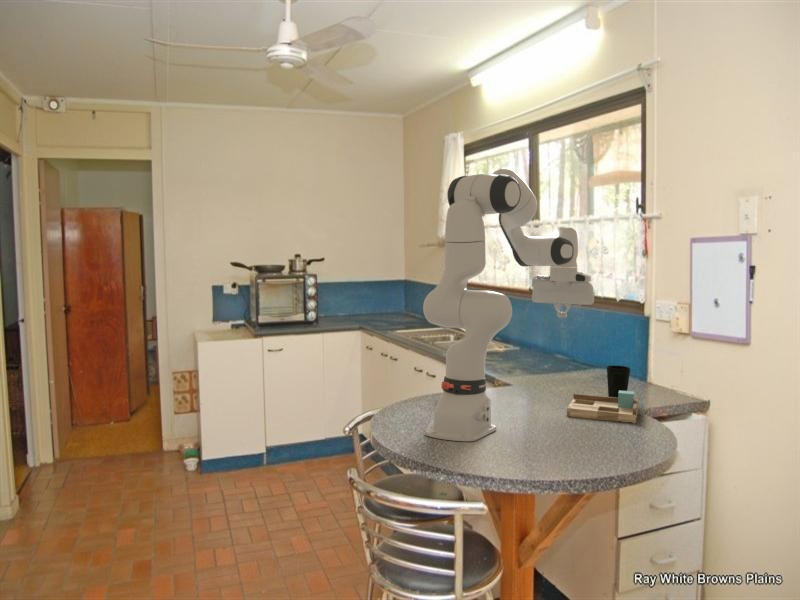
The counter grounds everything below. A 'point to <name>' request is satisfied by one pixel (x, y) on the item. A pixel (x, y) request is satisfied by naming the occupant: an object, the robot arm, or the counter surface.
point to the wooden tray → (601, 408)
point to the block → (625, 399)
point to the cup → (617, 379)
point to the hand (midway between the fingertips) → (561, 317)
